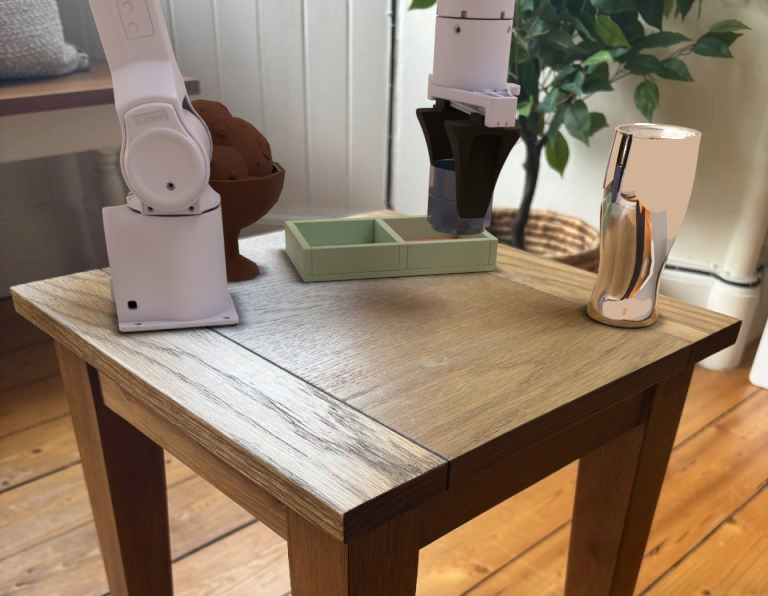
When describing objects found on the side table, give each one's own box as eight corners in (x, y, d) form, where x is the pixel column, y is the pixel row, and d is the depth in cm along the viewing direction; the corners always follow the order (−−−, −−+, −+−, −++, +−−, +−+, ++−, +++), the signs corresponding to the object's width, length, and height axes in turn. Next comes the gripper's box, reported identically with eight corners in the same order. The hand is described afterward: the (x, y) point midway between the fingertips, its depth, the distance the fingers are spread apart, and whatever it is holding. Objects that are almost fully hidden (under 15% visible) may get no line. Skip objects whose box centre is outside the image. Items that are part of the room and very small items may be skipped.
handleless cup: (438, 238, 66) (442, 172, 63) (418, 220, 70) (422, 158, 67) (499, 235, 67) (506, 171, 64) (476, 218, 71) (481, 157, 69)
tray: (304, 282, 77) (303, 249, 75) (285, 251, 85) (284, 220, 83) (495, 270, 81) (498, 239, 80) (460, 242, 89) (462, 213, 88)
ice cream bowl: (232, 299, 72) (217, 113, 64) (149, 273, 78) (126, 98, 69) (311, 272, 79) (308, 101, 71) (231, 249, 85) (218, 88, 76)
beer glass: (666, 333, 68) (711, 140, 60) (582, 325, 69) (615, 134, 61) (657, 305, 74) (697, 125, 66) (580, 298, 75) (610, 120, 67)
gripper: (566, 25, 55) (539, 229, 63) (489, 13, 67) (474, 186, 74) (469, 23, 54) (453, 233, 61) (407, 11, 65) (400, 189, 73)
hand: (459, 208), depth 68 cm, fingers closed on handleless cup, 5 cm apart
